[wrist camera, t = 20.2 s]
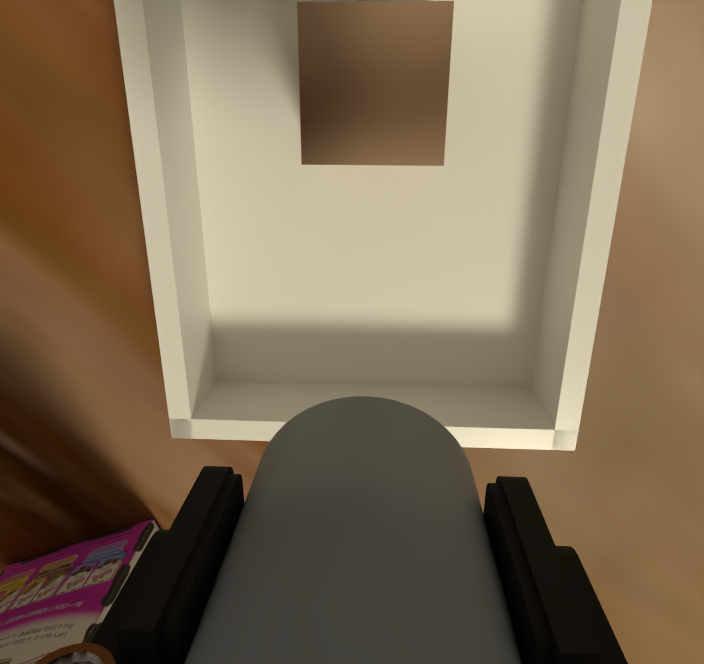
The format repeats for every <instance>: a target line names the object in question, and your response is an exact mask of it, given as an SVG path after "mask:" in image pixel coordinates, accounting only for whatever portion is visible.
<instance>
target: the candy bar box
mask: <svg viewBox="0 0 704 664" xmlns="http://www.w3.org/2000/svg"><path fill="white" fill-rule="evenodd" d="M158 530H160V528H159V527H158V525H157V524H156V522H155V521H154V520H147V521H144V522H141V523H138V524H135V525H132V526H129V527H126V528H123V529H120V530H117V531H114V532H111V533H108V534H105V535H102V536H99V537H95V538H93V539H90V540H87V541H84V542H81V543H78V544H75V545H72V546H68V547H65V548H62V549H59V550H56V551H52V552H49V553H46V554H43V555H40V556H37V557H34V558H30V559H27V560H24V561H21V562H18V563H15V564H12V565H9V566H6V567H5V568H4V570H3V571H2V573H1V574H0V664H35V663H36V662H37V661H39V660H40V659H41V658H43V657H44V656H46V655H48V654H50V653H52V652H54V651H55V650H57V649H59V648H62V647H66V646H69V645H72V644H77V643H90V642H91V641H92V639H93V637H94V635H95V634H96V632H97V630H98V628H99V627H100V625H101V623H102V621H103V620H104V618H105V616H106V614H107V613H108V611H109V609H110V608H111V606H112V604H113V602H114V601H115V599H116V597H117V595H118V594H119V592H120V590H121V588H122V587H123V585H124V583H125V582H126V580H127V578H128V576H129V575H130V573H131V571H132V569H133V568H134V566H135V564H136V562H137V561H138V559H139V557H140V556H141V554H142V552H143V550H144V549H145V547H146V545H147V543H148V542H149V540H150V538H151V537H152V535H153V534H154V533H155V532H156V531H158Z"/></svg>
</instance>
